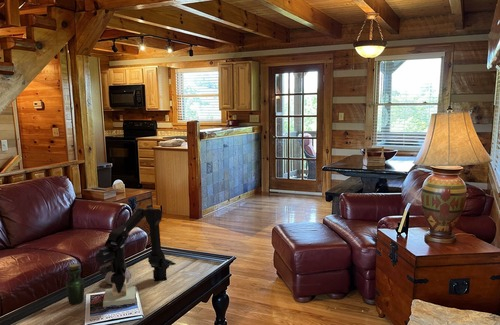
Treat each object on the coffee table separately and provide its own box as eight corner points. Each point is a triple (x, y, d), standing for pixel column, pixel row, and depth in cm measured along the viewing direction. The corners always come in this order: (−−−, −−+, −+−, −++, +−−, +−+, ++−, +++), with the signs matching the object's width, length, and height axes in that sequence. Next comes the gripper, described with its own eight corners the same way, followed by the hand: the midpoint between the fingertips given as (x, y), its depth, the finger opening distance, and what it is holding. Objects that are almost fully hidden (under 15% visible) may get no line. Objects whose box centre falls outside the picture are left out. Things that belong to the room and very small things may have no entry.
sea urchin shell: (136, 280, 210) (135, 266, 209) (113, 289, 199) (112, 273, 199) (122, 274, 218) (122, 260, 217) (100, 282, 208) (99, 267, 207)
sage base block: (135, 291, 196) (135, 285, 196) (135, 304, 183) (134, 298, 182) (105, 295, 192) (105, 289, 192) (103, 308, 179) (103, 302, 178)
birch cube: (126, 290, 191) (126, 278, 190) (126, 295, 185) (125, 283, 184) (113, 291, 189) (113, 280, 188) (112, 297, 183) (112, 285, 183)
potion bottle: (70, 297, 190) (68, 262, 187) (88, 297, 190) (86, 261, 188) (64, 305, 181) (61, 268, 179) (82, 305, 182) (80, 268, 180)
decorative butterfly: (161, 254, 238) (173, 253, 233) (164, 265, 238) (176, 264, 233) (149, 260, 230) (162, 258, 224) (152, 270, 229) (164, 269, 224)
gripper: (101, 252, 192) (103, 282, 194) (98, 266, 174) (99, 299, 176) (125, 250, 195) (127, 280, 197) (124, 263, 177) (125, 296, 179)
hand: (119, 288), depth 187 cm, fingers open, 9 cm apart
